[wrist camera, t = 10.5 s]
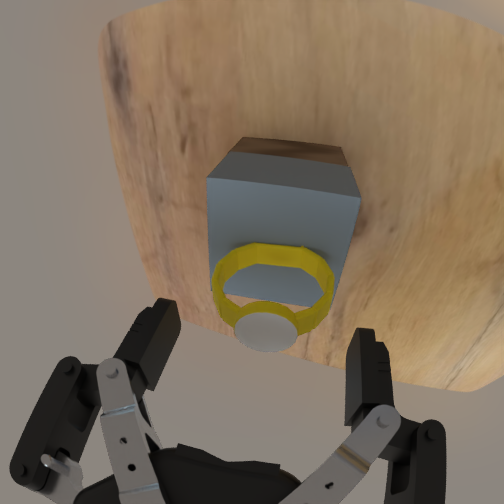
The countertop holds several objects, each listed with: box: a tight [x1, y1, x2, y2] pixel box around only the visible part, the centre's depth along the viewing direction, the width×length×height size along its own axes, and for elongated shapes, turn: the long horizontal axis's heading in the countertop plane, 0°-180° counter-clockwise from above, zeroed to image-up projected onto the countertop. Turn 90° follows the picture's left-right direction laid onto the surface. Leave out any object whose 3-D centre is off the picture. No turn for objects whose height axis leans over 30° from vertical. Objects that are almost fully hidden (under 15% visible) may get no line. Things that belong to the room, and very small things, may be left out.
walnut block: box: [228, 137, 348, 167], centre depth 23 cm, size 8×8×5 cm
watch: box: [211, 242, 335, 352], centre depth 15 cm, size 6×3×6 cm, turn 91°
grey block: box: [207, 151, 361, 308], centre depth 19 cm, size 8×8×5 cm
